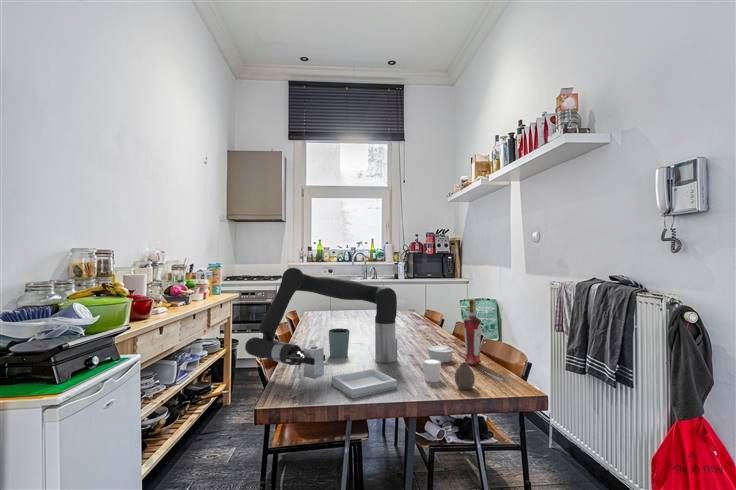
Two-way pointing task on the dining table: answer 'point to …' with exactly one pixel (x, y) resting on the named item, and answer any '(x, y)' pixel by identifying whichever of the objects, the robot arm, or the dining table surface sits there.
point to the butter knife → (494, 376)
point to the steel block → (318, 367)
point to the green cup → (338, 342)
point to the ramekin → (440, 353)
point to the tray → (363, 383)
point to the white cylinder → (432, 370)
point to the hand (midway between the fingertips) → (319, 359)
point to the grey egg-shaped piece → (464, 377)
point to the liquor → (472, 336)
